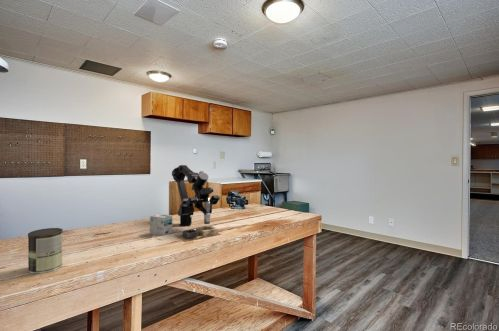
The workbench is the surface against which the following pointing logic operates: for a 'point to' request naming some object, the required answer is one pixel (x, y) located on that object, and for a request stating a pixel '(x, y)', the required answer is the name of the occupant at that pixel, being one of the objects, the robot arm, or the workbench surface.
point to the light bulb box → (160, 224)
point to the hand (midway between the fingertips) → (208, 213)
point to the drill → (207, 212)
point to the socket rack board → (198, 233)
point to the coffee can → (44, 250)
